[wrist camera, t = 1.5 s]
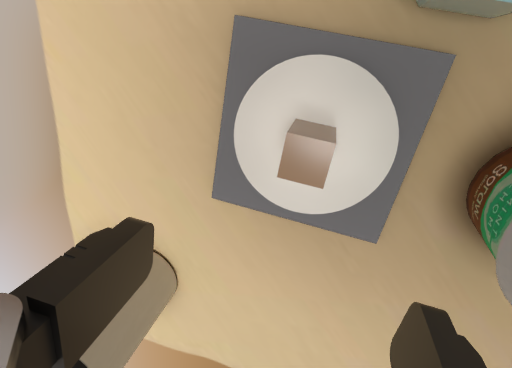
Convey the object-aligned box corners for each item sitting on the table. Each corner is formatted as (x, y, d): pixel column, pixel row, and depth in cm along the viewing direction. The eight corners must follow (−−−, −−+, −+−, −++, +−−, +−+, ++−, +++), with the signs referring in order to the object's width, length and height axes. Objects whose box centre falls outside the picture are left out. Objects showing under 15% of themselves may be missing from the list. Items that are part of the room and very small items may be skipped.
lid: (424, 73, 21) (454, 77, 16) (365, 225, 27) (372, 267, 21) (250, 40, 23) (224, 34, 18) (228, 188, 29) (203, 218, 23)
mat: (452, 54, 21) (455, 54, 20) (375, 240, 28) (376, 243, 27) (237, 15, 23) (234, 14, 23) (213, 195, 30) (211, 197, 30)
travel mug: (178, 255, 34) (40, 431, 18) (177, 306, 38) (59, 493, 21) (117, 238, 36) (-64, 388, 19) (121, 289, 39) (-31, 453, 23)
